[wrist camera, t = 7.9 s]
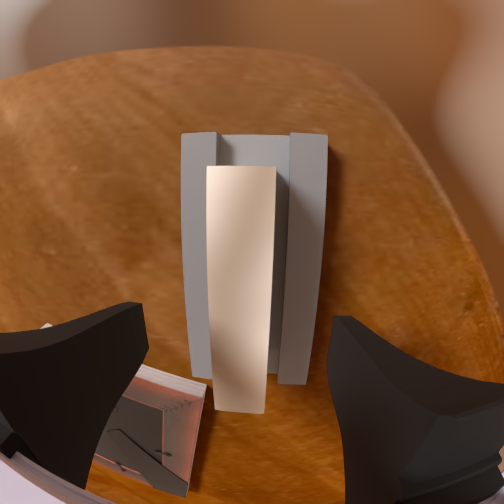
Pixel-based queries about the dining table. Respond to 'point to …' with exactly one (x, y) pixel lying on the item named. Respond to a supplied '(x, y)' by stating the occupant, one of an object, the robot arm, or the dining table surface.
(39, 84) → the dining table surface
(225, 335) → the frame
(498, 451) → the robot arm
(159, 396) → the picture frame
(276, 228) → the grooved channel
